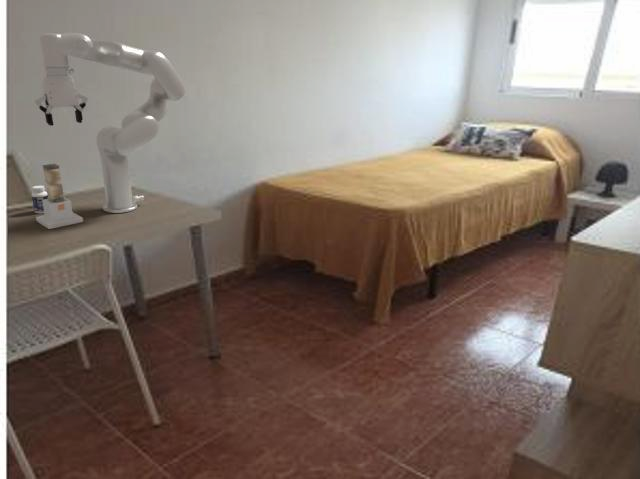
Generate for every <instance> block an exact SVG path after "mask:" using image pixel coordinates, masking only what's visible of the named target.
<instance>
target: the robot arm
mask: <svg viewBox="0 0 640 479" xmlns="http://www.w3.org/2000/svg"><path fill="white" fill-rule="evenodd" d="M39 41H40V47H41V54H42V60H43V67H44V72H45V76H43V77H42V93H43V95H41V96H40V97H38V98H36V99H35V100H34V101H33V102H34V104H35V105H36V106H37V108H38V109H39V110H40V111H42V112H43V113H44V115H45V116H44V117H45V121H46V124H47V125H48V126H50V127H52V126H54V120H53V114H52V110H53V109H54V108H56V109H57V108H65V107H66V108H67V107H71V108H72V107H73V108H74V109H75V110H74V115H75V122H77V123H79V124H81V123H83V122H82V121H83V120H84V119H83V113H82V112H83V110H84V109H85V107H86V104H87V101H88V97H86V96H85V95H82V94H80V93H78V90H77V87H76V84H75V81H74V80H75V79H74V78H73V76H71V74H73V73H74V68H71V67H70V64H69V59H68V58H69V57H73V58H76V59H77V58H78V59H82V60H86V61H90V62H93V63H99V64H103V65H105V66H109V67H114V68H119V69H122V70H127V71H132V72H134V73H135V72H136V73H139V74H144V75H149V76H150V75H153V77H154V78H153V79H152V81H151V83H150V87H149V96H148V97H149V98H148V99H147V100H146V101H145V102H144V103H143V104H141V105H140V106H138V107H137V108H135V109H134V110H131V112H129V113H127V114H126V115H125V116H124V117H123V119H122V120H121V128H119V127H117V126H109V125H108V126H104V127H102V128H101V129H100V130H99V131H98V132H97V135H96V146H97V150H98V152H99V155H100V156H99V157H100V162H101V170H102V178H103V186H104V193H105V199H106V203H105V204H104V205H103V206H102V210H103V211H104V212H106V213H111V214H121V213H122V214H123V213H128V212H133V211H135V210H137V208H138V204H137V202H140V201H141V202H142V201H144V200H145V196H144V195H143V194H142V195H138V194H136V195H133V192H132V185H131V184H132V183H131V176H130V175H131V174H130V165H129V159H128V156H130V155H132V154H134V153H136V152H137V151H138V150H140V149H141V148H142V147H144V146H146V145H147V144H148V143H150V142H151V141H152V140H154V139H155V137H156V136H157V134H158V133H159V125H160V124H159V122H160V121H162V119H164V118H165V116H166V115H167V112H168V108H169V104H170V103H169V102H170V101H173V102H176V101H179V100H182V99H183V97H184V96H185V93H186V86H185V84H184V82H183V80H182V79H181V77H180V75H179V74H178V72H177V70H175V68H174V66H173V65H172V63H171V62H170V61H169V59H168V58H167V57H166V56H165V55H164V54H163V53H162V52H161V51H158V50H157V51H156V50H146V49H143V48H139V47H135V46H131V45H127V44H124V43H121V42H116V41H108V40H107V41H106V40H105V41H104V40H98V39H93V38H89V36H87V35H86V34H83V33H80V32H65V33H63V34H62V33H56V32H55V33H53V32H46V33H45V32H44V33H41V34H40V35H39ZM79 99H80V100H81V102H80V104H79ZM42 102H43V103H44V105H45V106H44V105H43V104H42Z"/></svg>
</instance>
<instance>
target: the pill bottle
mask: <svg viewBox="0 0 640 479" xmlns="http://www.w3.org/2000/svg"><path fill="white" fill-rule="evenodd" d="M45 190H46V189H45V186H44V185H34V186H32V193H31V199H32V205H33V207H32V208H33V211H34V213H35V214H45V213H44V208H43V202H42V200H44V199H48V194H47V191H45Z"/></svg>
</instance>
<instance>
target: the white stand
mask: <svg viewBox="0 0 640 479" xmlns="http://www.w3.org/2000/svg"><path fill="white" fill-rule="evenodd" d="M55 201H56V202H54V203H51V202H50V201H49V200H48V199H44V200H42V202H43V208H44V213H43V215H38V216H35V221H36V222H37V223H39V224H40V225H42V226H43V227H45V228H46V229H48V230H51V229H56V228H61V227H65V226H70V225H75V224H79V223H84V218H83V217H82V216H80V215H78V214H77V213H75V212H74V211H73V207H72V206H73V205H72V200H71V199H69V198H67V197H65V196H64V200H63V198H61V199H56V200H55Z"/></svg>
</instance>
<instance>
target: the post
mask: <svg viewBox="0 0 640 479" xmlns="http://www.w3.org/2000/svg"><path fill="white" fill-rule="evenodd" d="M42 170H43V176H44V182H45V187H46V192H47V194H48V200H49V201H50V202H51V203H54V202H56V201H55V200H56V199H61V198H63V200H64V197H65V195H64V188H63V182H62V177H61V171H60V165H59V164H56V163H50V164H43V165H42Z"/></svg>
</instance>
